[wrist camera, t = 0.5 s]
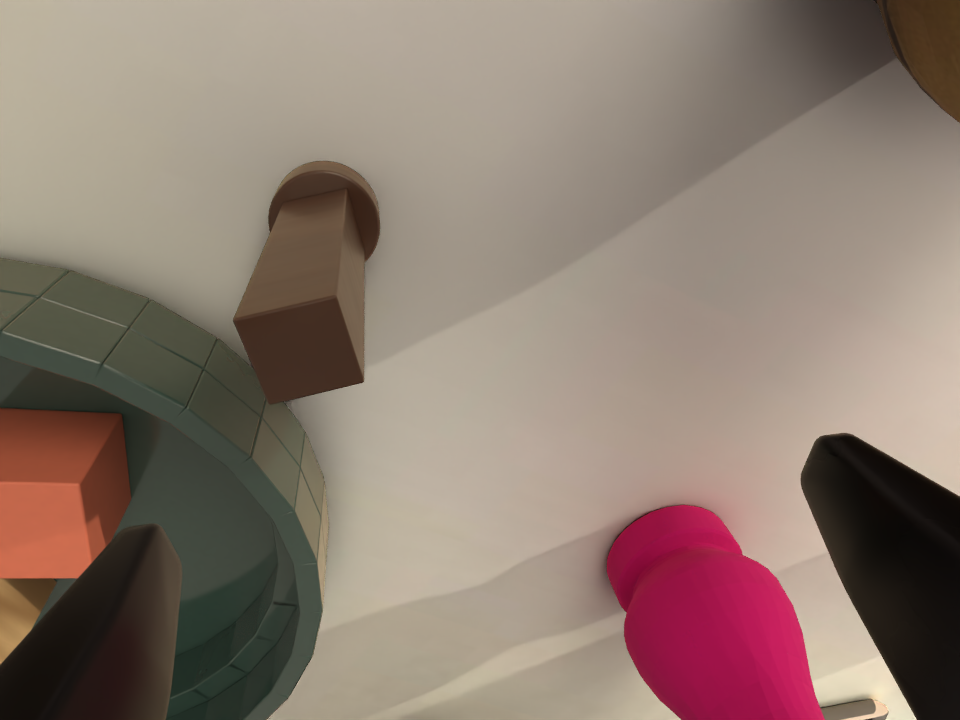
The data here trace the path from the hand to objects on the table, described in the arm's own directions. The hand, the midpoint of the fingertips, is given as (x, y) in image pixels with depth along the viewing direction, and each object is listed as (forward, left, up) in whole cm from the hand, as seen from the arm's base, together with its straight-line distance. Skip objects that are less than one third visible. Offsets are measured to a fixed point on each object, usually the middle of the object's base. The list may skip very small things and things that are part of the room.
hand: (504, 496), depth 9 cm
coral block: (-6, +15, -14) cm, 21 cm away
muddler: (+1, +3, -15) cm, 15 cm away
